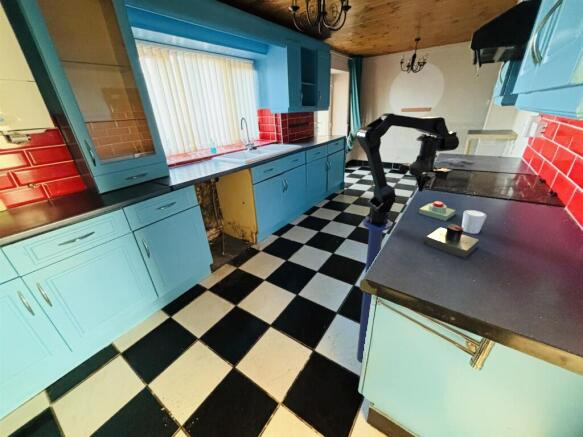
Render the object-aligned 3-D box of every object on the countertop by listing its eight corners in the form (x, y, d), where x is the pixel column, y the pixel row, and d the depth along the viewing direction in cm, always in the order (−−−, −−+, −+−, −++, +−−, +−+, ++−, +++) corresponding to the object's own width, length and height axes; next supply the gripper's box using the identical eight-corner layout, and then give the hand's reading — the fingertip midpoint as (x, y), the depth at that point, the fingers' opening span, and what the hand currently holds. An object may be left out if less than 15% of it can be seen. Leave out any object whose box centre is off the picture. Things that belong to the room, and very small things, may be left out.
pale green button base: (418, 213, 106) (420, 204, 104) (428, 207, 111) (430, 199, 109) (445, 220, 98) (447, 212, 96) (454, 214, 103) (456, 206, 101)
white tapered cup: (466, 224, 94) (470, 208, 91) (485, 231, 88) (491, 214, 85) (455, 228, 91) (459, 212, 89) (474, 236, 86) (479, 218, 83)
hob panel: (425, 243, 83) (427, 236, 81) (438, 234, 88) (440, 227, 87) (464, 258, 74) (467, 250, 73) (476, 247, 79) (479, 239, 78)
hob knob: (442, 237, 80) (445, 226, 78) (448, 233, 82) (451, 222, 81) (457, 242, 77) (460, 231, 75) (462, 238, 79) (465, 226, 77)
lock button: (431, 206, 103) (432, 202, 102) (435, 204, 105) (436, 200, 104) (440, 208, 100) (441, 204, 100) (444, 206, 102) (445, 202, 102)
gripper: (393, 153, 93) (388, 190, 99) (444, 158, 79) (435, 202, 86) (408, 149, 99) (403, 185, 105) (458, 153, 85) (448, 194, 92)
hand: (420, 191), depth 97 cm, fingers closed
